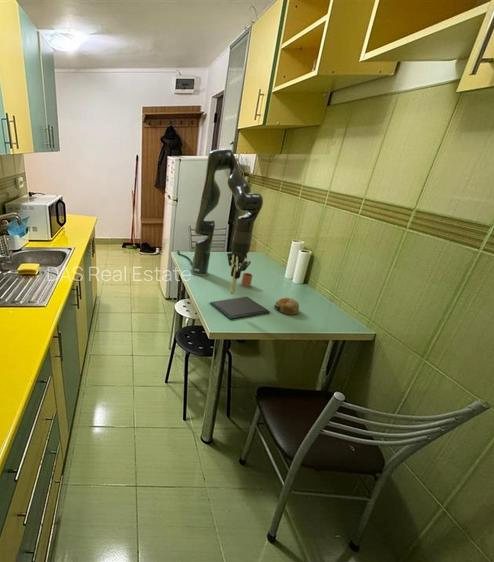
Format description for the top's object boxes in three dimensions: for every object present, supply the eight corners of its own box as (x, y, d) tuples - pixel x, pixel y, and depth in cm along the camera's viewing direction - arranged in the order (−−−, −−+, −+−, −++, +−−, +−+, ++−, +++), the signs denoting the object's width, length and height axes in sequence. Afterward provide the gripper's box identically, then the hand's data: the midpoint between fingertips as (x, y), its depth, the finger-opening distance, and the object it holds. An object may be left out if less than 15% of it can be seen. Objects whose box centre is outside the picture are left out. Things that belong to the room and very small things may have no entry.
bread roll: (291, 322, 142) (303, 311, 138) (271, 309, 145) (283, 297, 140) (292, 313, 150) (303, 302, 146) (273, 301, 153) (284, 290, 148)
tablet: (210, 303, 151) (210, 301, 150) (246, 298, 157) (246, 296, 157) (230, 319, 137) (230, 317, 136) (269, 313, 143) (269, 310, 143)
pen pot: (238, 284, 173) (241, 273, 170) (246, 283, 174) (248, 272, 171) (244, 288, 169) (247, 276, 166) (252, 287, 170) (254, 275, 167)
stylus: (228, 293, 142) (233, 266, 137) (232, 292, 143) (237, 266, 138) (231, 294, 141) (236, 268, 135) (235, 294, 141) (240, 267, 136)
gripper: (260, 244, 127) (252, 282, 134) (238, 236, 139) (232, 271, 146) (245, 245, 124) (237, 284, 131) (224, 237, 136) (218, 272, 143)
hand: (234, 277), depth 138 cm, fingers closed on stylus, 2 cm apart
